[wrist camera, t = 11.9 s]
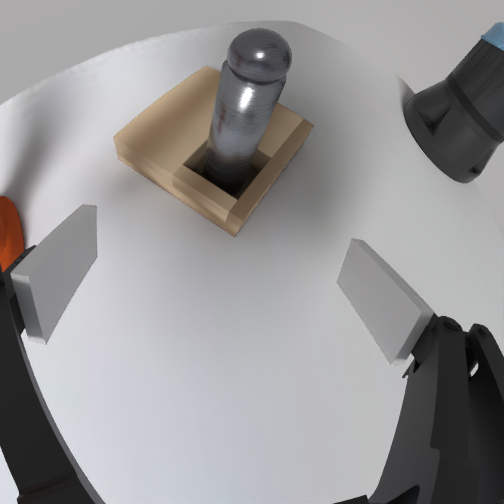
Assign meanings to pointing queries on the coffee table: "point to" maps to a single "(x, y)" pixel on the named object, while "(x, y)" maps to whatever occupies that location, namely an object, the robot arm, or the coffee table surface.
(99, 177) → the coffee table surface
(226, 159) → the metal round-headed rod
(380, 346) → the robot arm
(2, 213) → the toy drill
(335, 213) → the coffee table surface
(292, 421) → the coffee table surface
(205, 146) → the block
